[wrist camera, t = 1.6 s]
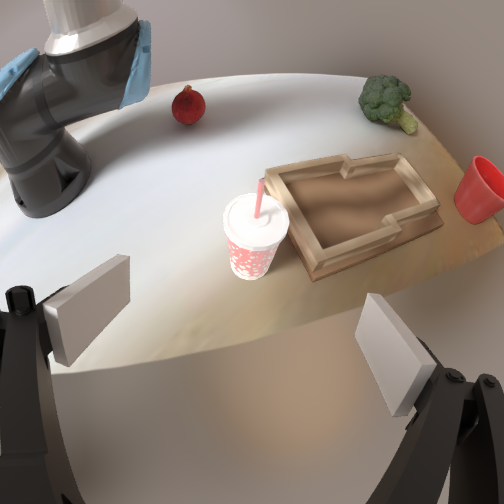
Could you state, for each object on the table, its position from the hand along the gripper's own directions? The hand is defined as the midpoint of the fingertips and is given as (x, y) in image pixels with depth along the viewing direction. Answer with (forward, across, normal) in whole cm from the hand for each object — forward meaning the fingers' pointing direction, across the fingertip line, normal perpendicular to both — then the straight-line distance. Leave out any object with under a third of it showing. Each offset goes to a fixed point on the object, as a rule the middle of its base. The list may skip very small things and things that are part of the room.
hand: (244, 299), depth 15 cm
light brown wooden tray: (+27, +15, +4) cm, 31 cm away
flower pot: (+32, +40, +9) cm, 52 cm away
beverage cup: (+19, 0, -4) cm, 19 cm away
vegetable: (+46, +24, +23) cm, 57 cm away
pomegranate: (+37, -14, +14) cm, 42 cm away
